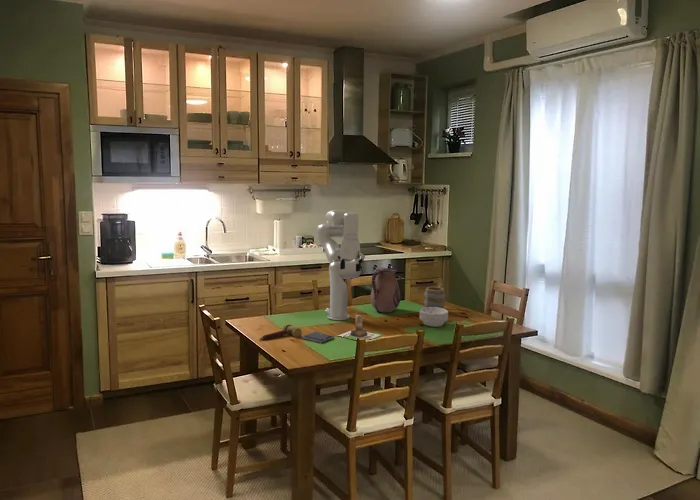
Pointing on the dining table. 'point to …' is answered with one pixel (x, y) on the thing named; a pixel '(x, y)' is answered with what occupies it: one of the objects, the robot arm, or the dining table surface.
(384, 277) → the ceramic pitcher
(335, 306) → the robot arm
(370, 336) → the paper sheet
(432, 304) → the tankard
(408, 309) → the dining table surface
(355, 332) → the stamp
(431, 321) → the paper bowls
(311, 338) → the ink pad
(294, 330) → the gavel
